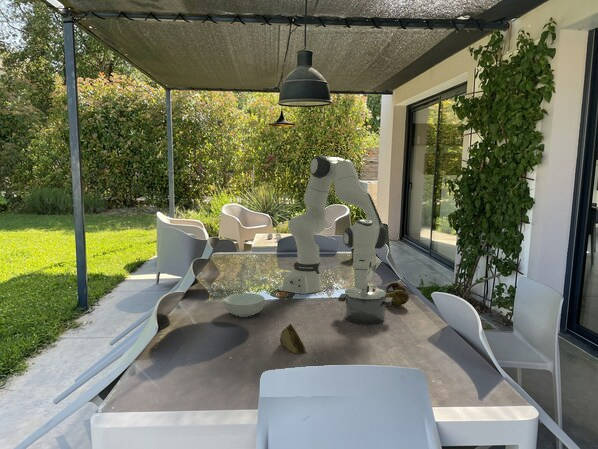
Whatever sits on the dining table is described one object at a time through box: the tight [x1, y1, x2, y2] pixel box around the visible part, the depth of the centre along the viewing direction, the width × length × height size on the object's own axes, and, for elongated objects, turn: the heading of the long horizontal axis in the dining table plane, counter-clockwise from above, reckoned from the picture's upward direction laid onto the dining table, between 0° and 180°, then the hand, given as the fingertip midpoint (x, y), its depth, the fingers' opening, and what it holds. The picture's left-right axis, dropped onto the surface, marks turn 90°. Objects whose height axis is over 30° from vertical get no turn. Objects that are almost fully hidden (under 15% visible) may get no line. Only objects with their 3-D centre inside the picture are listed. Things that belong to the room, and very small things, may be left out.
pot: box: [338, 293, 392, 326], centre depth 185 cm, size 21×17×10 cm
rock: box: [279, 323, 307, 354], centre depth 155 cm, size 11×9×10 cm
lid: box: [344, 285, 386, 300], centre depth 184 cm, size 17×17×3 cm
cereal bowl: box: [224, 292, 265, 318], centre depth 191 cm, size 17×17×7 cm
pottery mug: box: [385, 281, 407, 294], centre depth 215 cm, size 12×10×8 cm
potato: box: [385, 290, 410, 306], centre depth 201 cm, size 8×13×8 cm, turn 9°
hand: (364, 294), depth 180 cm, fingers closed, pressing on lid
